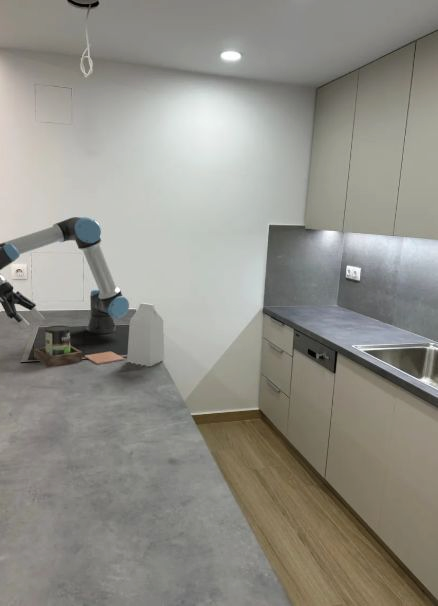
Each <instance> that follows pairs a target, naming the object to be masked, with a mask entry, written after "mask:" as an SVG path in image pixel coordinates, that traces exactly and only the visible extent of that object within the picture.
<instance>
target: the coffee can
mask: <svg viewBox="0 0 438 606" xmlns="http://www.w3.org/2000/svg"><path fill="white" fill-rule="evenodd" d="M44 330H45V331H44V333H45V335H44V336H45V347H46V355H47V356H55V355H62V354H68V353H70V345H71V327H70V326H67V325H51V326H50V325H49V326H46V327H45V328H44Z"/></svg>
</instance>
